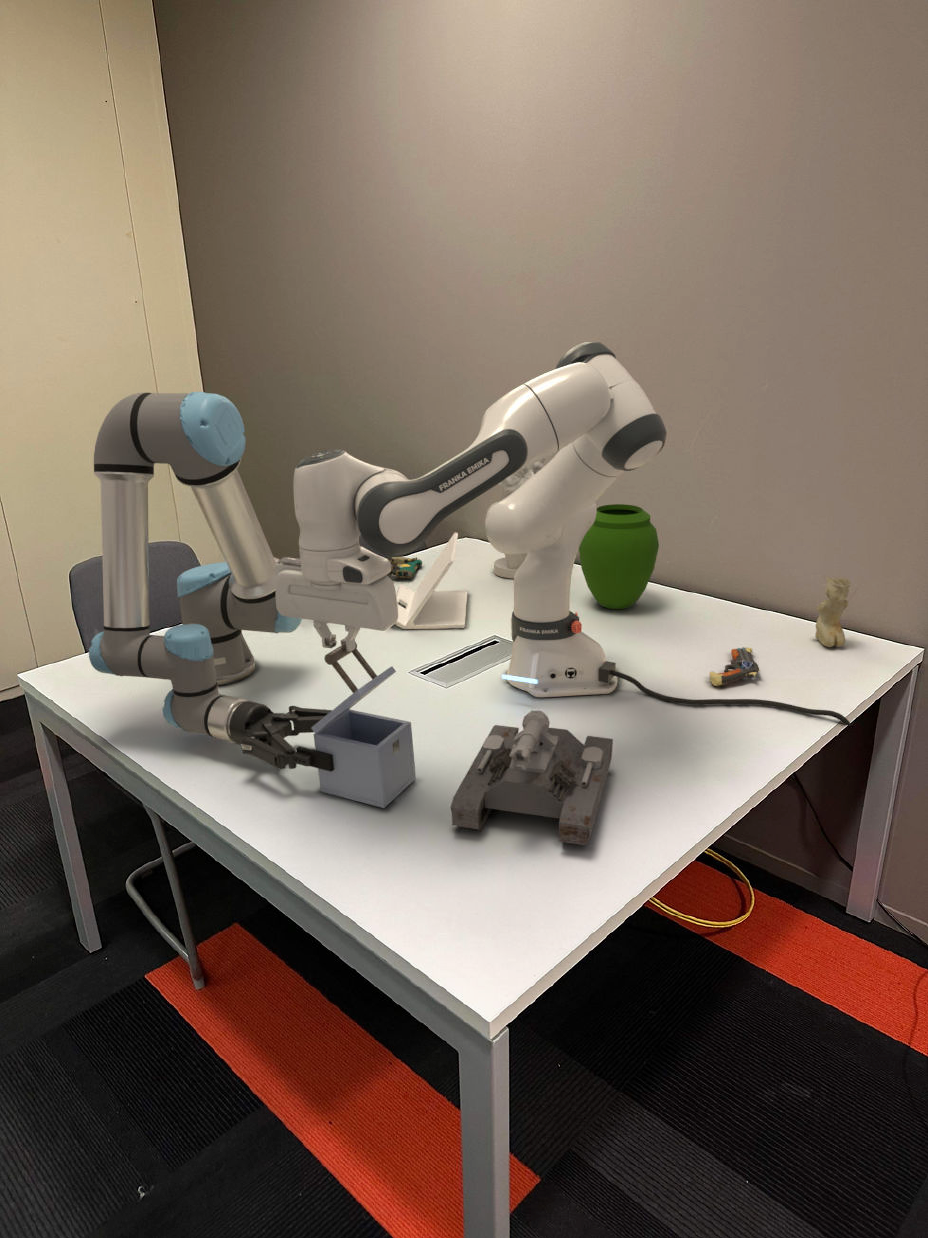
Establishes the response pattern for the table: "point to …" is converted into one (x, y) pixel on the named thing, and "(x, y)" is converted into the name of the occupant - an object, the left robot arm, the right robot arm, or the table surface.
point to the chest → (367, 757)
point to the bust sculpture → (510, 484)
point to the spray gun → (403, 566)
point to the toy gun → (736, 667)
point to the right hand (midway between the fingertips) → (339, 648)
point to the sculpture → (832, 613)
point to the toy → (536, 777)
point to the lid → (350, 684)
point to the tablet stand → (433, 598)
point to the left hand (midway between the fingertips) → (350, 748)
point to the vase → (619, 555)
